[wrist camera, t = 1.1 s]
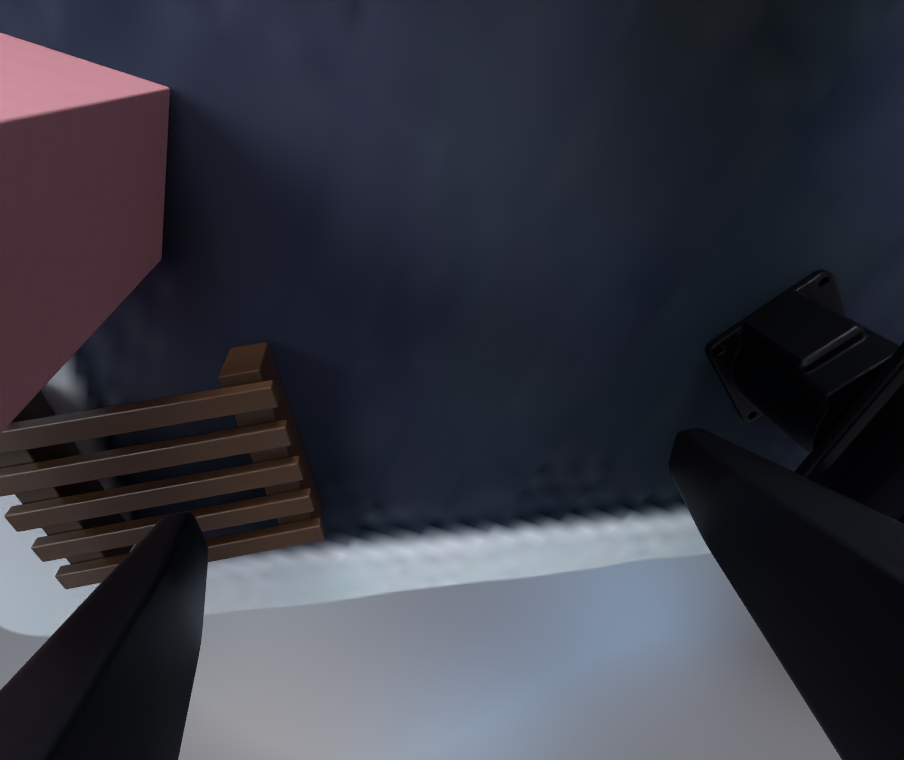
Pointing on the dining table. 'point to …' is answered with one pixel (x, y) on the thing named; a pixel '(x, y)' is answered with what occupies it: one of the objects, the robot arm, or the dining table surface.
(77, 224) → the box
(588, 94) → the dining table surface
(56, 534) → the rack
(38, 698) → the robot arm
